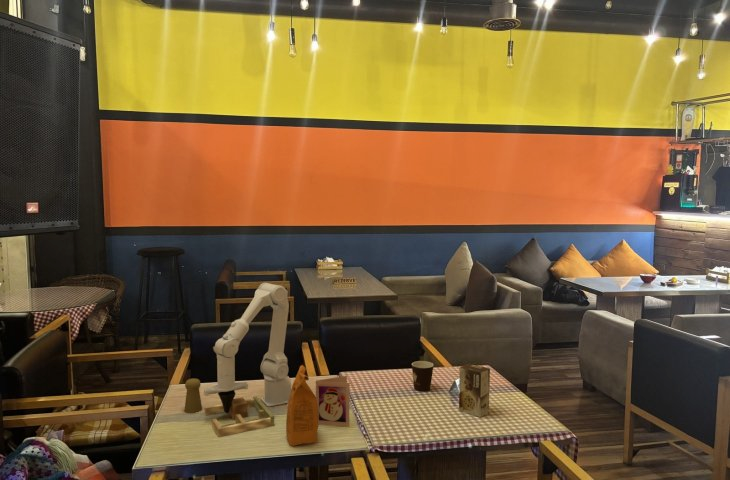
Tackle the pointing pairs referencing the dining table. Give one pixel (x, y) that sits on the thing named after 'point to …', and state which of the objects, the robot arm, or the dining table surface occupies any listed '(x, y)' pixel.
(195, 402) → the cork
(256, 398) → the trap lane
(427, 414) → the dining table surface
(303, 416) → the coffee package
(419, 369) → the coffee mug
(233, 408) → the walnut block
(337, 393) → the greeting card
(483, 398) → the coffee box
